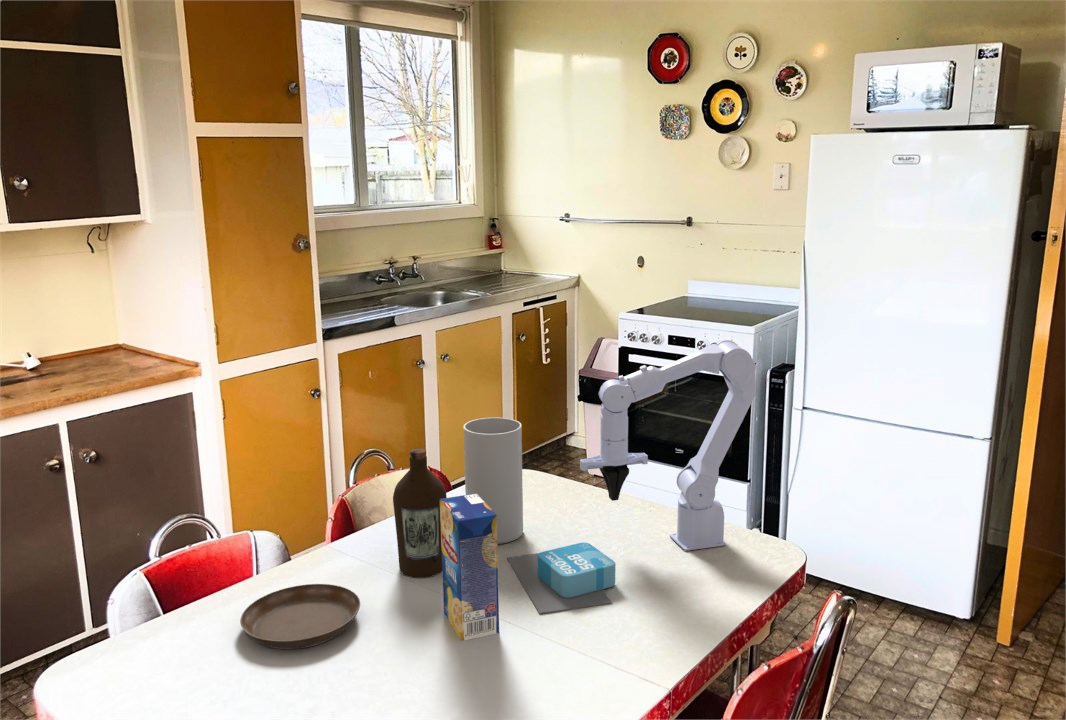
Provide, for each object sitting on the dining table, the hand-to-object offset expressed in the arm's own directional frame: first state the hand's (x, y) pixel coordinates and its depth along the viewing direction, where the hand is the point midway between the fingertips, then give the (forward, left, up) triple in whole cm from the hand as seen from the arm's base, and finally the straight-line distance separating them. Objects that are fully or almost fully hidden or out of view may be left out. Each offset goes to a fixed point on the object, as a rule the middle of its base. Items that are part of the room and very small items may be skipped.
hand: (613, 498), depth 183 cm
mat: (+17, +12, -10) cm, 23 cm away
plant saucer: (+65, +15, -11) cm, 68 cm away
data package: (+7, +12, -8) cm, 16 cm away
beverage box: (+36, +23, -11) cm, 44 cm away
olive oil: (+41, -1, -11) cm, 42 cm away
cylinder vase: (+23, -13, -11) cm, 28 cm away
